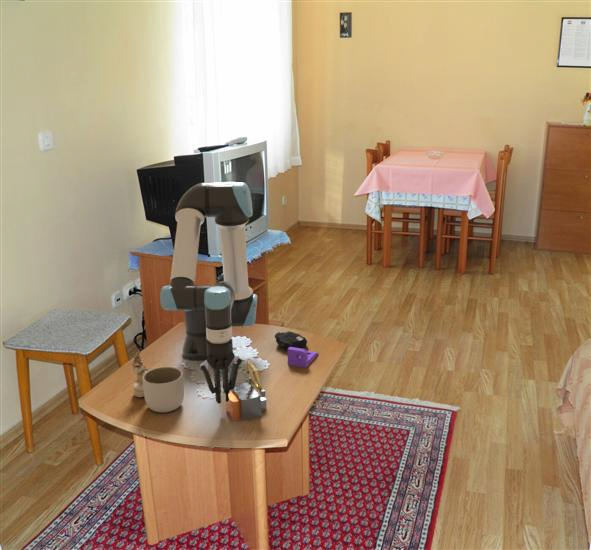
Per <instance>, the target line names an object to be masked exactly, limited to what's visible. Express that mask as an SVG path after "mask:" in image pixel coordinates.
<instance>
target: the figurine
mask: <svg viewBox="0 0 591 550" xmlns="http://www.w3.org/2000/svg"><path fill="white" fill-rule="evenodd" d="M143 361H144V359H143V358H142V355H141V354H140V352H136V354H135V355H134V358H133V359H132V360H131V366H132V369H133V371H134V375H136V376H137V378H136V379H135V380H134V384H133V386H132V387H133V394H134V397H137V398H143V397H144V390H143V381H142V376H143V375H144V374H145V373H146V372H147V371H149V368H148V367H147V366H146V365H145V364H144V362H143Z"/></svg>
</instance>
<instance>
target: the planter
mask: <svg viewBox="0 0 591 550" xmlns="http://www.w3.org/2000/svg"><path fill="white" fill-rule="evenodd" d="M142 381H143V390H144V396H143V397H144V401H145V403H146V406H147V407H148V408H149V409H150V410H151V411H152V412H156V413H159V414H160V413H162V414H163V413H169V412H173V411H175V410H177V409H178V408H179V407H180V406H181V405H182V404H183V401H184V399H185V398H184V397H185V385H184V383H185V382H184V373H183V370H181V369H180V368H177V367H174V366H160V367H159V366H158V367H155V368H152V369H148V371H147V372H146V373H145V374H144V375H143V376H142Z"/></svg>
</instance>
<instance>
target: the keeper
mask: <svg viewBox="0 0 591 550" xmlns="http://www.w3.org/2000/svg"><path fill="white" fill-rule="evenodd" d="M246 364H247V369H248V372H249V373H248V374H249V377H250V378H251V383H252V384H251V385H252V386H253V387H254V388H256V389H257V390H256V391H257V392H258V393H260V390H263V387H262V383H261V379H260V376H259V370H258V368H257V367H256V366H255V365H254V364H253V363H252V362H251V361H250V360H246ZM253 372H254V373H253Z"/></svg>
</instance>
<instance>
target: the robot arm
mask: <svg viewBox="0 0 591 550" xmlns="http://www.w3.org/2000/svg"><path fill="white" fill-rule="evenodd" d="M175 209H176V210H175V216H174V217H175V221H176V222H177V223H176V231H175V232H176V233H175V240H174V247H173V256H172V263H171V272H170V280H169V285H168V284H167V285H163V286H162V287H161V290H160V296H159V297H160V298H159V299H160V305H161V307H162V309H163V310H166V311H176V312H177V311H184V323H185V326H184V327H185V336H184V337H185V338H184V341H183V345H182V356H183V358H185V359H187V360H190V361H198V362H199V361H200V363H198V366H199V368H200V369H201V371H202V373H203V375H204V379H205V381H206V384H207V387H208V390H209V391H210V393H211V394H215V401H216V403H217V404H218V408H219V413H221V415H224V414H227V411H226V402H228V401H229V393H230V392H231V390H233V389H234V388H235V384H237V377H238V373H239V368H240V365H241V364H242V362H243V359H241V357H240V356H237V355H235V353H234V347H233V346H234V345H233V327H235V328H237V327H238V328H239V327H241V328H244V327H252V326H254V325H255V323H256V316H257V305H258V304H257V303H258V294H255V293H254V290H253V288H252V287H250V285H249V274H248V260H247V259H248V257H247V243H246V242H247V241H246V227H245V226H246V225H247V224H248V223H249V221H250V220H249V219H250V218H251V217H252V216H253V211H254V210H253V201H252V194H251V191H250V188H249V185H248V184H247V183H246V182H243V181H242V182H236V181H224V182H223V181H222V182H200V183H197V184H195V185H193V186H192V187H190V188H189V189H188V190H186V192H185V193H184V194H183V195H182V196H181V198H180V199H179V201H178V203H177V205H176V208H175ZM205 218H214V223H215V224H216V226H218V227H219V232H220V233H219V234H220V245H221V246H220V247H221V258H222V260H221V261H222V272H223V280H221V281H217V282H215V283H214V284H199V285H197V284H196V273H197V266H198V265H197V264H198V263H197V262H198V254H199V247H200V245H199V243H200V236H201V235H200V233H201V225H202V224H203V223H204V222H205ZM195 284H196V285H195ZM202 361H203V362H202ZM231 364H232V365H231ZM230 365H231V370H229V369H230ZM209 366H210V367H212V369H213V379H214V380H213V381H214V383H213V381H212V378H211V374H210V372H209V370H208V369H209ZM229 371H230V372H229ZM229 373H230V375H229ZM221 375H222V376H221ZM221 377H222V379H221ZM221 380H222V386H221Z"/></svg>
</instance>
